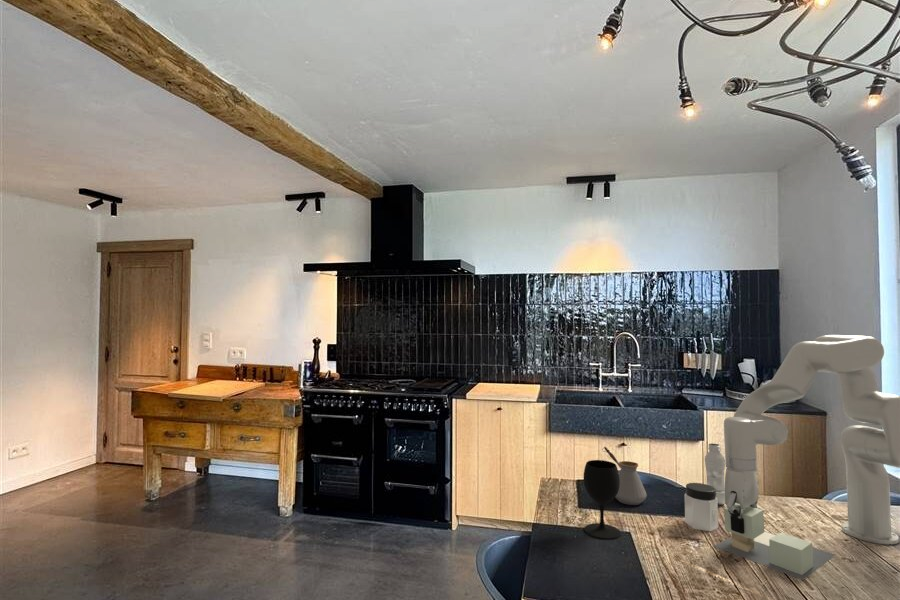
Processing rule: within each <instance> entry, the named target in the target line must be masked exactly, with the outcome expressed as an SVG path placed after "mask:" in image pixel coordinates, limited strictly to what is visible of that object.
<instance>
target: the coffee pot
mask: <svg viewBox="0 0 900 600" xmlns="http://www.w3.org/2000/svg"><path fill="white" fill-rule="evenodd" d="M601 450H602V452H606V453H607V454H608V455H609V457H610V458H611V459H612V460H613V462H615V464H616V465H617V467H619V468H620V470H619V471H618V473H619V478H620V487H619V491H618V493H617V495H616V496H615V498H614V499H616V500H617V501H618V502H619V503H621V504H624V505H630V506H637V505H641V504H642V502H643V501H645V500H646V499H647V495H648V494H647V491H646V489H645V487H644V485H643V482H642V481H641V478H640V476H639V473H638V471H637V468H638V467H639V464H638V463H637V462H634V461H626V460H625V461H618V459H617V457H615V456H614V454H613V453H612V452H611V451H610V450H609V449H608V448H607V447H606V446H604V447H603V448H602V449H601Z"/></svg>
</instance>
